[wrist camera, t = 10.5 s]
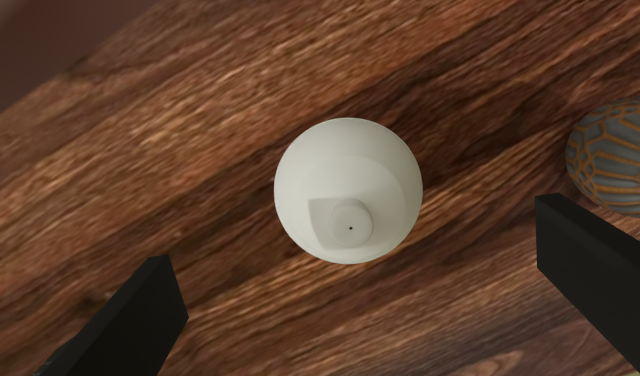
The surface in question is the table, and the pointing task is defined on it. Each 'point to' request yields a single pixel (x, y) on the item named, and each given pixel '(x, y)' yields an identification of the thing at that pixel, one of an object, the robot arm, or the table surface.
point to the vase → (608, 156)
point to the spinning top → (348, 190)
